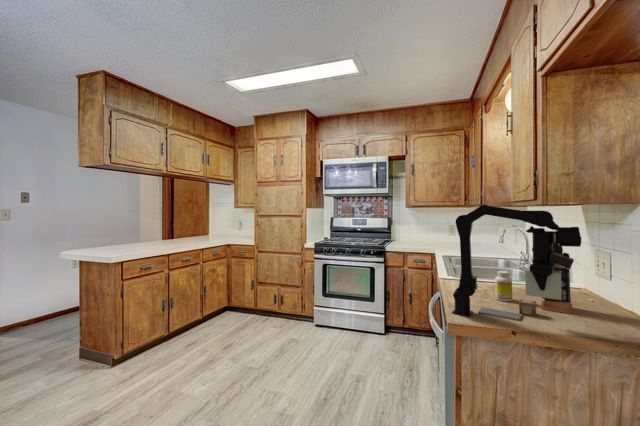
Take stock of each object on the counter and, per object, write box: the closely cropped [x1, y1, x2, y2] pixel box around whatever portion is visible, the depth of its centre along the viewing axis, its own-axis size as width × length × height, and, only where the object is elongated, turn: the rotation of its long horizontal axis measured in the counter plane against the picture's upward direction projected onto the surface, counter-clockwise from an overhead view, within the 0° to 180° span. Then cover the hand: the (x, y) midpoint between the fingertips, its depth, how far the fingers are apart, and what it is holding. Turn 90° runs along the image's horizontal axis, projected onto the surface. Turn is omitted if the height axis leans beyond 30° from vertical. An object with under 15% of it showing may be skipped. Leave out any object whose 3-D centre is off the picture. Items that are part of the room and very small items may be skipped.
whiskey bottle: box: [540, 233, 573, 314], centre depth 124 cm, size 10×10×32 cm
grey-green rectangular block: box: [524, 268, 561, 300], centre depth 106 cm, size 4×10×9 cm, turn 50°
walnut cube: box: [518, 298, 537, 318], centre depth 117 cm, size 5×5×5 cm
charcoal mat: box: [477, 307, 523, 322], centre depth 118 cm, size 7×14×1 cm, turn 50°
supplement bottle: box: [494, 270, 513, 302], centre depth 137 cm, size 7×7×13 cm
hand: (543, 288), depth 106 cm, fingers closed on grey-green rectangular block, 4 cm apart
